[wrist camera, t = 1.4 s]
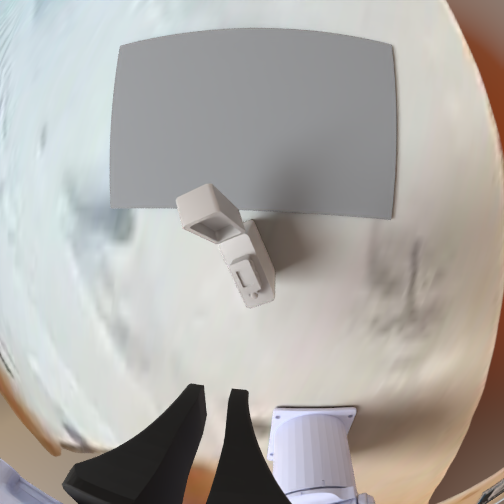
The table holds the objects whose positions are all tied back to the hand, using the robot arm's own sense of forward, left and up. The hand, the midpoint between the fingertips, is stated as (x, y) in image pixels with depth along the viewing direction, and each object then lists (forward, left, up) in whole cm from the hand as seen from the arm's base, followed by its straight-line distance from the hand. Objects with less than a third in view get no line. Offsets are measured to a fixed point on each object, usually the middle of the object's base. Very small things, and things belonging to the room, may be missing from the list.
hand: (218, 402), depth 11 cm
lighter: (+6, 0, -10) cm, 12 cm away
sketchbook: (-72, -87, -11) cm, 114 cm away
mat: (+14, 0, -10) cm, 17 cm away
